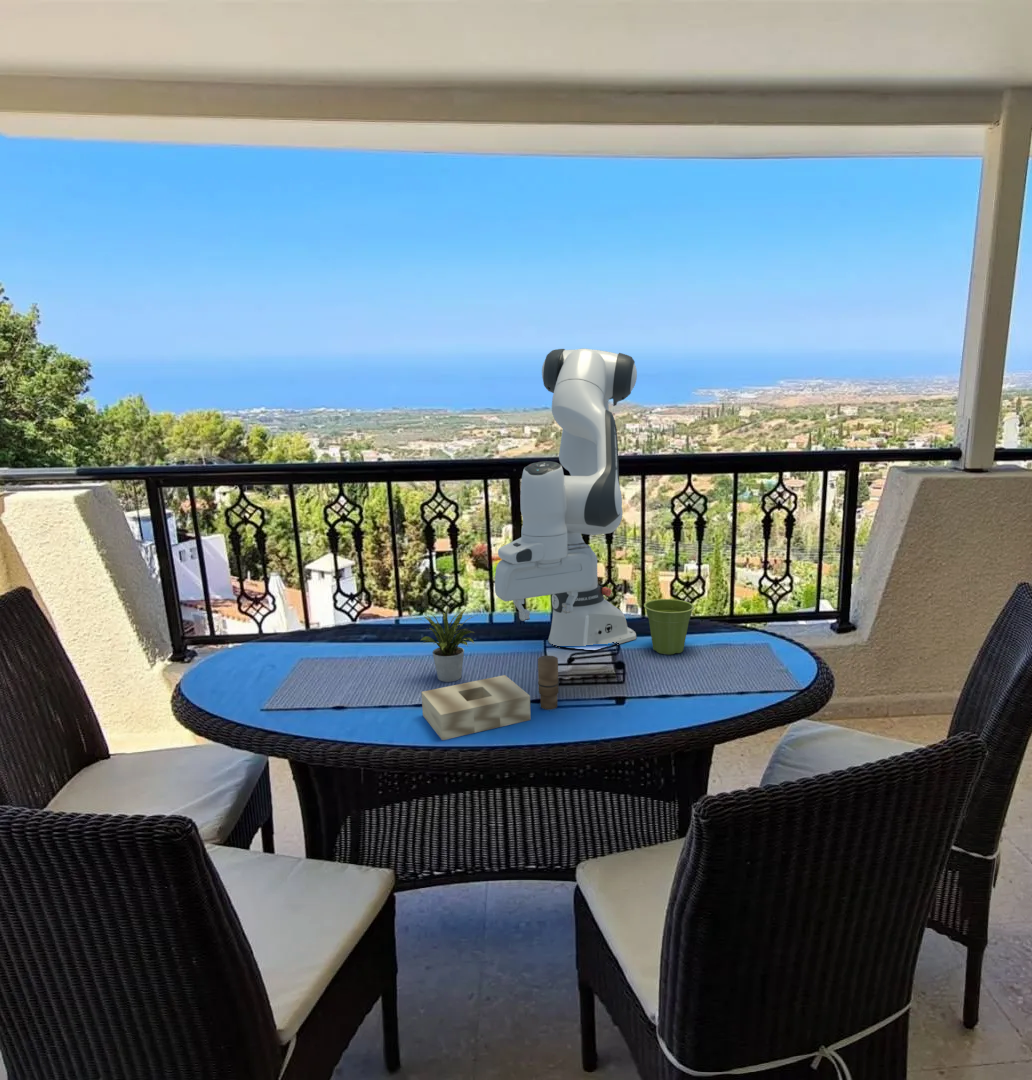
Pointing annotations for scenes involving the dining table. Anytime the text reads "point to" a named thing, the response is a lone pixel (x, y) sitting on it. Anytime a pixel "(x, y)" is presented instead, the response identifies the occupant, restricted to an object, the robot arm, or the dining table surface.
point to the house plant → (448, 647)
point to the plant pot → (668, 624)
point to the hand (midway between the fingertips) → (546, 616)
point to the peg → (548, 681)
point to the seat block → (475, 706)
